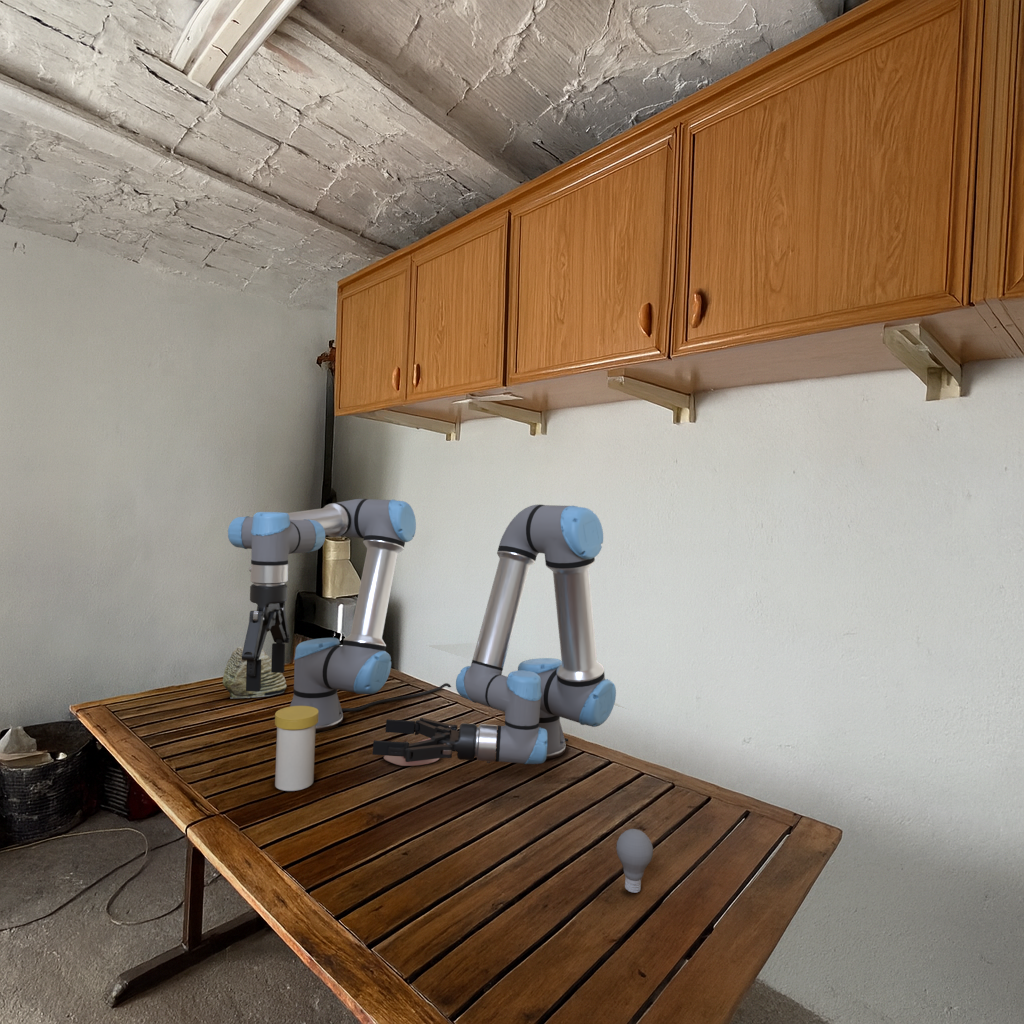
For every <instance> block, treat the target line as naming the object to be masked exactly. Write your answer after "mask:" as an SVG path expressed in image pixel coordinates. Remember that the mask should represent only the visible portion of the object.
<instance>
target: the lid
mask: <svg viewBox="0 0 1024 1024" xmlns="http://www.w3.org/2000/svg"><path fill="white" fill-rule="evenodd" d="M317 723H318V709H316V708H314V707H310V706H291V707H290V706H287V707H283V708H280V709H278V710H277V711H276V712H275V714H274V726H275V727H276V728H277V727H278V728H281V729H286V730H298V729H305V728H309V727H312V726H314V725H316V724H317Z"/></svg>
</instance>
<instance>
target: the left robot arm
mask: <svg viewBox="0 0 1024 1024" xmlns="http://www.w3.org/2000/svg"><path fill="white" fill-rule="evenodd" d="M416 529H417V520H416V515H415V513H414V510H413V507H412V506H411V505H410V504H409V503H408V502H406V501H404V500H396V499H378V498H377V499H375V498H373V499H372V498H355V499H350V500H349V499H348V500H344V501H337V502H332V503H328V504H326V505H324V506H323V507H322V508H314V509H308V510H299V511H293V512H291V511H290V512H281V511H280V512H279V511H257V512H256V513H254V514H253V516H248V515H247V516H238V517H235V518H233V519H232V520H231V522H230V523H229V525H228V527H227V539H228V541H229V543H230V544H231V545H232V546H234V547H236V548H241V549H244V550H251V553H250V554H251V558H250V559H251V560H250V563H251V564H250V567H249V568H248V571H249V572H250V582H251V583H252V584H251V585H250V586H249V601H250V602H251V603H252V604H256V605H257V607H256V610H250V611H249V618H248V626H247V630H246V635H245V639H244V643H243V647H244V648H243V652H242V660H247V670H246V691H258V692H259V691H260V689H261V659H259V657H260V654H261V651H262V649H263V647H264V644H265V641H266V639H267V636H268V635H267V634H268V632H270V634H271V637H272V640H273V643H271V659H272V665H271V672H273V673H282V674H284V673H285V665H286V664H285V663H286V644H289V643H290V641H291V639H290V631H289V630H290V629H289V623H288V618H287V613H286V601H287V600H288V584H286V583H287V582H288V581H289V555H290V554H292V555H293V554H302V553H303V554H304V553H308V554H309V553H311V552H315V551H317V550H320V549H321V547H323V545H324V543H325V540H326V536H328V537H331V538H338V537H348V538H357V539H363V542H362V543H363V545H364V546H365V548H366V554H365V558H364V564H363V568H362V574H361V577H360V585H359V588H358V594H357V599H356V604H355V609H354V615H353V618H352V623H351V624H352V625H351V630H350V634H349V635H347V636H346V637H345V638H343V641H342V645H340V644H341V641H340V639H339V638H337V637H321V638H313V639H307V640H304V641H302V642H299V643H298V644H297V645H296V647H295V652H294V653H295V654H294V658H293V660H294V670H293V671H294V672H293V695H292V696H293V697H292V699H291V702H290V704H289V707H291V706H310V707H314V708H316V709H318V723H317V724H316V733H317V732H325V731H329V730H332V729H335V728H337V727H339V726H340V725H342V723H343V722H344V714H343V712H358V711H361V710H362V711H363V710H365V709H367V708H369V707H372V706H376V705H379V704H383V703H389V702H395V701H401V700H407V699H412V698H416V697H417V698H418V697H421V696H424V695H425V696H426V695H428V694H431V693H435V692H438V691H440V690H442V689H443V688H445V687H447V688H452V685H451V684H450V683H448V682H445V683H443V684H441V685H440V686H438V687H434V688H431V689H429V690H426V691H421V692H418V693H413V694H408V695H407V694H406V695H402V696H396V697H391V698H385V699H380V700H375V701H372V702H368V703H366V704H364V705H361V706H359V707H353V708H352V707H343V708H342V706H341V702H340V699H339V695H338V691H342V692H343V691H344V692H347V693H355V694H357V695H374V694H376V693H378V692H379V691H380V690H381V689H382V688H383V687H384V686H385V684H386V683H387V681H388V678H389V676H390V673H391V669H392V661H391V660H392V658H391V654H389V653H388V652H387V651H386V648H387V644H386V643H385V641H384V639H383V635H384V630H385V624H386V618H387V613H388V609H389V608H388V607H389V602H390V596H391V592H392V587H393V581H394V575H395V570H396V565H397V560H398V559H397V558H398V555H399V554H400V553H401V552H402V551H404V550H405V545H406V543H409V542H410V541H412V540H413V539H414V537H415V535H416Z"/></svg>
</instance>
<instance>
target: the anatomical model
mask: <svg viewBox="0 0 1024 1024" xmlns="http://www.w3.org/2000/svg"><path fill="white" fill-rule="evenodd" d="M430 739H431V738H429V737H427V738H425V739H422V740H419V741H418V742H420V741H425V740H430ZM440 759H441V758H437V759H429V760H420V761H412V762H406V761H405V758H404V757H402V756H387V755H383V760H385V761H386V762H388V763H390V764H394V765H396V766H401V767H411V766H413V767H415V766H423V765H429V764H432V763H435V762H437V761H438V760H440Z"/></svg>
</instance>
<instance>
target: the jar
mask: <svg viewBox="0 0 1024 1024" xmlns="http://www.w3.org/2000/svg"><path fill="white" fill-rule="evenodd" d="M316 733H317V732H316V725H314V726H312V727H309V728H305V729H298V730H286V729H281V728H278V727H276V739H275V740H276V742H275V770H274V787H275V788H276V789H278V790H280V791H285V792H295V791H301V790H304V789H307V788H309V787H310V786H312V785H313V784H314V782H315V756H316V755H315V754H316Z"/></svg>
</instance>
